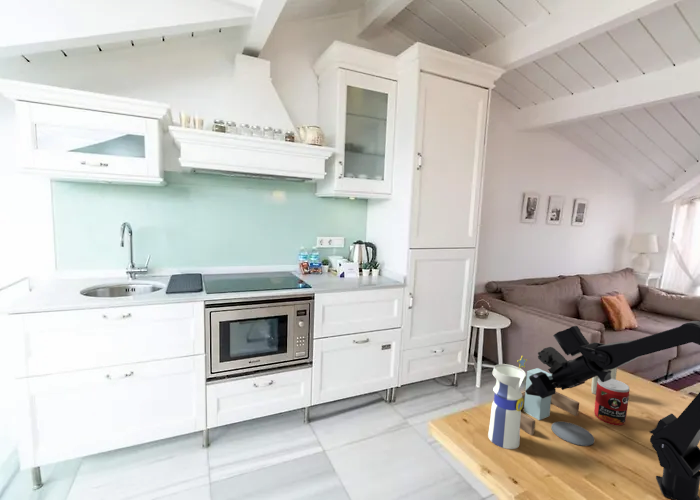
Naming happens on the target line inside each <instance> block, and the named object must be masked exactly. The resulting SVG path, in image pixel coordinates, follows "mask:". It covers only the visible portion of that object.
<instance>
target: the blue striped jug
mask: <svg viewBox="0 0 700 500" xmlns="http://www.w3.org/2000/svg"><path fill="white" fill-rule="evenodd" d="M527 361H528V359H526V358H524V356H523V355H521V357H520V359H518V360H516V362H517V363H518V364H519V366H515V365H512V364H509V363H506V364H505V363H498V364H496V365H494V366H493V370H492V372H491V374H492V375H493V377H494V378H495V379H496V383H495V385H494V386H493V389H492V390H493V392H494V397H493V401H492V403H491V407H490V409H491V410H490V416H489V417H490V418H489V419H490V420H489V427H488V433H487V437H488V439H489V441H490V442H491V443H492V444H494V445H495V446H497V447H499V448H502V449H506V450H516V449H518V448H519V446H520V440H521V439H520V436H521V433H520V432H521V429H520V420H521V412H522V411H521V410H522V409H523V408H524V407H523V403H524V400H523V398H522V393H523V392H522V391H521V385H522V383H523V385H526V379H527V372H526V371H524V369H522V368H526V362H527ZM522 407H523V408H522Z"/></svg>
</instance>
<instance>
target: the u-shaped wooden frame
mask: <svg viewBox="0 0 700 500" xmlns="http://www.w3.org/2000/svg"><path fill="white" fill-rule="evenodd" d="M521 393H522V398H523V400H524V402H525V391H524V392H521ZM551 404H552V405H554V406H556V408H557V407H558V408H560V409H561V410H564V411H566V412H567V413H569V414H571V415H573V416H575V417H576V416H579V409H580V402H579V401H577V400H575V399H573V398H570V397H568V396H567V395H565V394H563V393H560V392H559V391H556V392H555V394H553V395H552V396H551ZM522 409H524V403H523V407H522ZM535 427H536V419H535V418H533V417H530V415H529V416H528V414H526V413H523V412H522V411H521V420H520V430H522V431H523V432H525V433H527V434H529V435H530V436H533V435H535Z"/></svg>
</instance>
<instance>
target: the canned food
mask: <svg viewBox="0 0 700 500" xmlns="http://www.w3.org/2000/svg"><path fill="white" fill-rule="evenodd" d="M629 397H630V386H629V385H628V384H626V383H625V382H623V381H621V380H618V379H616V380H615V379H610V380H608V381H605V382H601V380H600V379H598V381H597V389H596V394H595V401H594V409H593V410H594V411H593V413H594V416H595V417H596V418H597V419H598V420H600V421H601V422H603V423H605V424H607V425H608V424H609V425H610V426H611V425H612V426H615V427H616V426H617V427H618V426H619V427H620V426H623V425H625V423H626V421H627V414H628V407H629V399H630V398H629Z"/></svg>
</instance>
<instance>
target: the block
mask: <svg viewBox="0 0 700 500" xmlns="http://www.w3.org/2000/svg"><path fill="white" fill-rule="evenodd" d="M539 372H543V373H546V374H547V376H548V378H549V379H550V380H551V379H553V378H552V373H550V372H549V371H548V372H547V371H545V370H543V369H541V368H539V367H536V368H533V369H530V370H527V371H526V382H525V391H524V392H525V402H524V407H523V412H524V414H526V415H529V416H531V418H533V419H535V420H538V421H542V420H544V419H545V418H549V417H550V415H551V414H550V413H551V407H552V405H551V396H552V395H551V396H548V397H546V398H541V397H540V396H534V395H528V394H527V393H526V390H527V389H528V387H529V386H530V385H531V384H532V382H531V381H530V379H529V376H531V375H533V374H536V373H539Z"/></svg>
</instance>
